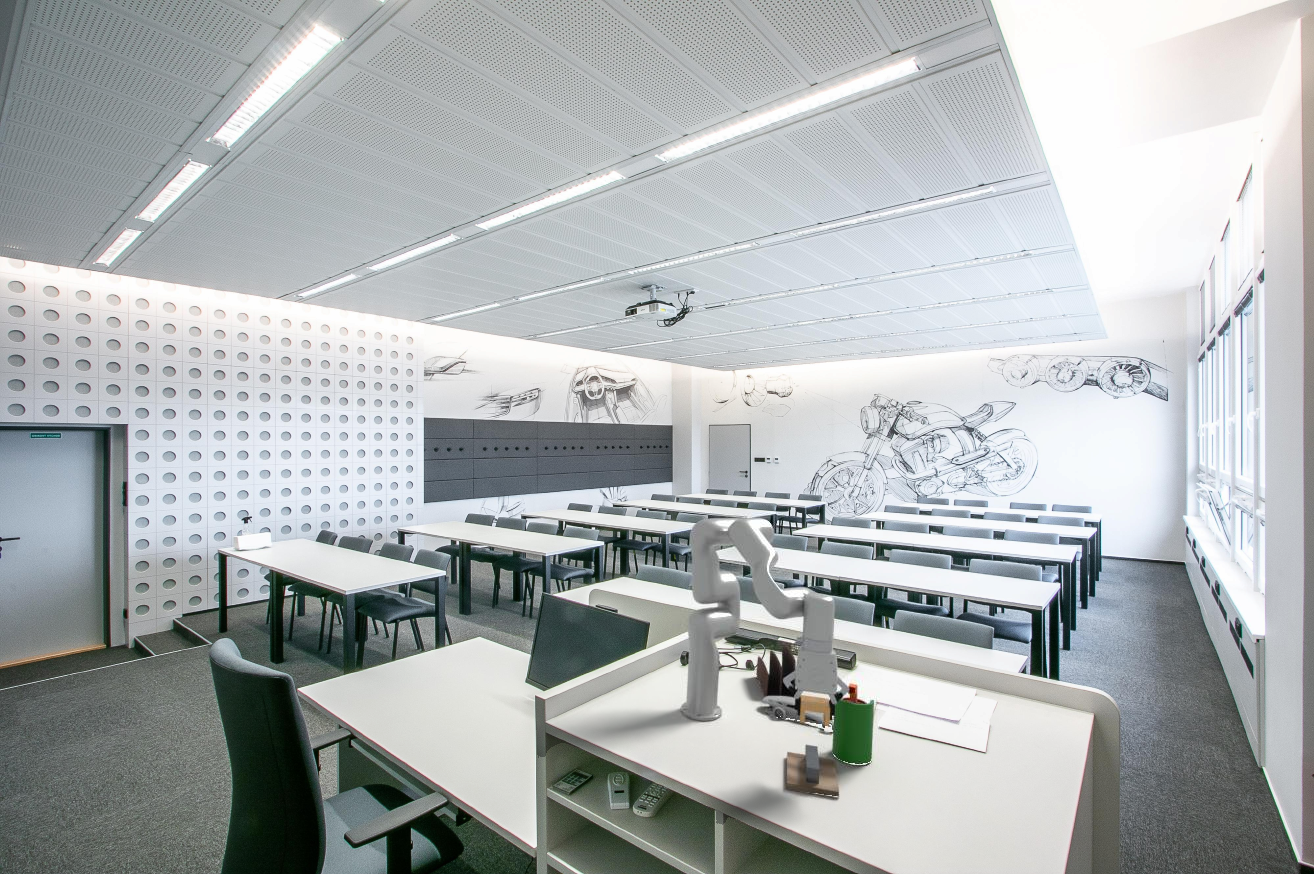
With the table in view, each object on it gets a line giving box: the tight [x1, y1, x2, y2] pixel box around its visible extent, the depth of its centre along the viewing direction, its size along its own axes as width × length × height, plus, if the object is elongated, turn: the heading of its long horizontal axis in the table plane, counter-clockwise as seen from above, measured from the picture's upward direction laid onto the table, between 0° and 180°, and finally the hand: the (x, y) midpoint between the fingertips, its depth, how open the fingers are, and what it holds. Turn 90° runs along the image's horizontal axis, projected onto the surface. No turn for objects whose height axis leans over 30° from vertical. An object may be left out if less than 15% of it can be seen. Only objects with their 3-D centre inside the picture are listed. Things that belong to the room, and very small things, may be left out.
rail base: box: [786, 751, 840, 797], centre depth 149 cm, size 16×12×2 cm
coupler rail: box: [804, 744, 820, 784], centre depth 150 cm, size 12×3×4 cm, turn 167°
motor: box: [831, 683, 875, 764], centre depth 161 cm, size 10×9×20 cm
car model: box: [762, 696, 834, 730], centre depth 185 cm, size 11×24×5 cm, turn 60°
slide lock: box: [800, 694, 830, 727], centre depth 150 cm, size 6×7×4 cm
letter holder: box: [755, 642, 797, 698], centre depth 208 cm, size 10×20×14 cm, turn 0°
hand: (814, 715), depth 150 cm, fingers closed on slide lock, 7 cm apart
